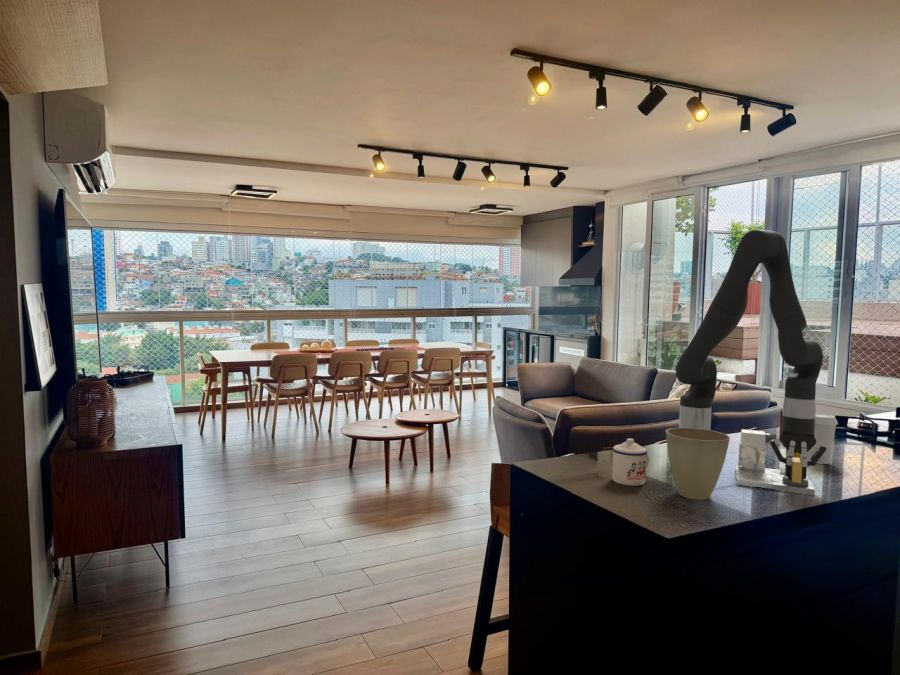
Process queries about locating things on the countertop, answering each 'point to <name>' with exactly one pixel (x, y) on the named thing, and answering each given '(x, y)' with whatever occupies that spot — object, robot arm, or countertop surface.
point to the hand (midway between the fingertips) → (795, 479)
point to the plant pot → (696, 460)
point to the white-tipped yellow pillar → (796, 474)
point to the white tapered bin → (824, 436)
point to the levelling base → (770, 484)
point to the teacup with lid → (629, 463)
